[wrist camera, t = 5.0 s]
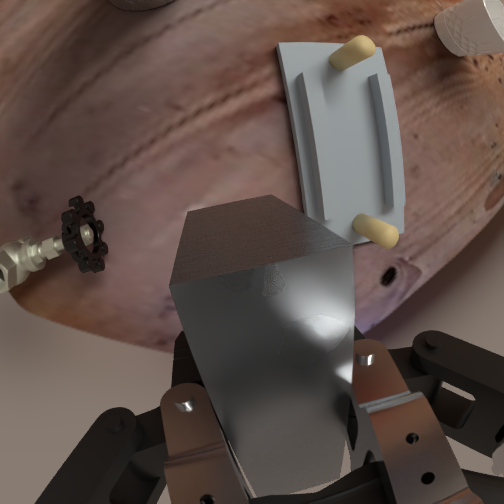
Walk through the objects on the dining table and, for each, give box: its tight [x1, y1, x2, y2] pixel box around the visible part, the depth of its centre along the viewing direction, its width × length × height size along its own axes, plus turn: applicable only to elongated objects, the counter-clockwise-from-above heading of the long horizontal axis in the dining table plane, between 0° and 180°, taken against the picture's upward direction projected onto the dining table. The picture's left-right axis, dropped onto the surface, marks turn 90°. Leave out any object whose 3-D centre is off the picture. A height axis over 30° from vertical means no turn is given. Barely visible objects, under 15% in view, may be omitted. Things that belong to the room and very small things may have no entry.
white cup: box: [434, 0, 504, 57], centre depth 17 cm, size 8×8×10 cm
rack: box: [276, 35, 405, 249], centre depth 22 cm, size 20×11×6 cm, turn 10°
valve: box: [0, 195, 108, 294], centre depth 21 cm, size 7×7×12 cm
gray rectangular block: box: [169, 194, 355, 497], centre depth 9 cm, size 9×3×6 cm, turn 10°
